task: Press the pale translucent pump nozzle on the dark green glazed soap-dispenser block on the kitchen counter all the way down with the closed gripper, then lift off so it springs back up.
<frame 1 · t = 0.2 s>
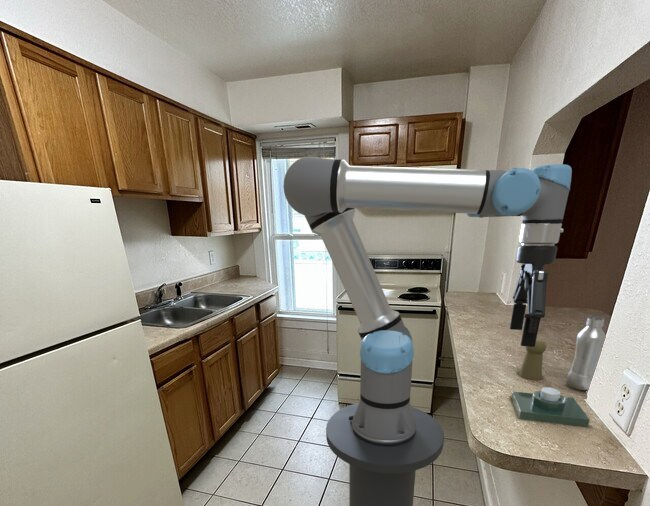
hand: (521, 337, 85), 18 cm above the worktop, tool pointing down, fingers open, 13 cm apart
nozzle: (550, 394, 85), point 5 cm above the worktop, slide at 0.1 cm
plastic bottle: (578, 388, 99), on the worktop
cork: (530, 376, 107), on the worktop
dispenser: (546, 411, 87), on the worktop
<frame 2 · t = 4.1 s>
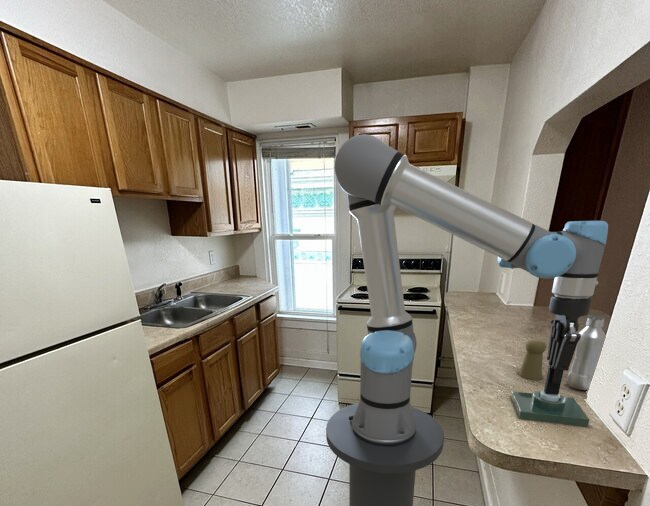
hand: (551, 392, 85), 5 cm above the worktop, tool pointing down, fingers closed
nozzle: (549, 397, 86), point 4 cm above the worktop, slide at -0.7 cm, touching gripper
everything else where it was.
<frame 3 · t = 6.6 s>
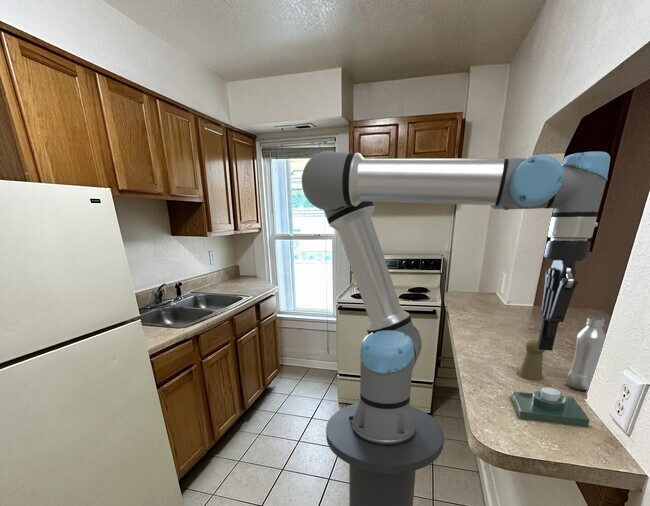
hand: (544, 348, 80), 17 cm above the worktop, tool pointing down, fingers closed
nozzle: (550, 394, 85), point 5 cm above the worktop, slide at 0.1 cm
everything else where it was.
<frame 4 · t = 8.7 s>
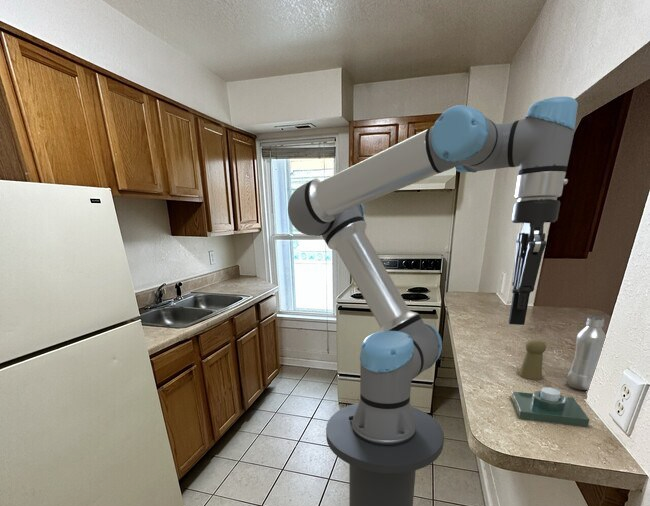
hand: (516, 323, 73), 24 cm above the worktop, tool pointing down, fingers closed
nothing on the worktop moved.
at the end: nozzle pushed in 1.2 cm at the most during the clip, back to where it started at the end; nozzle slide at 0.1 cm; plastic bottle moved 0.2 cm from its start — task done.
